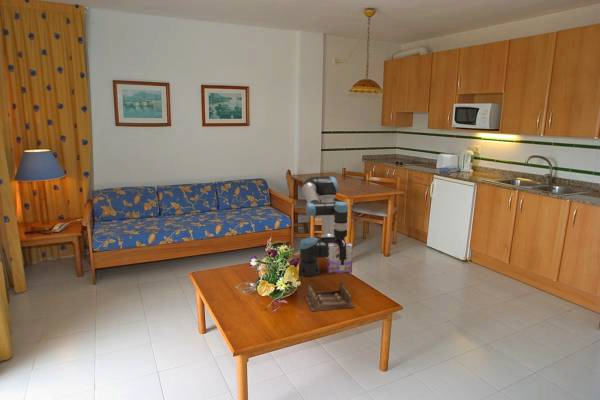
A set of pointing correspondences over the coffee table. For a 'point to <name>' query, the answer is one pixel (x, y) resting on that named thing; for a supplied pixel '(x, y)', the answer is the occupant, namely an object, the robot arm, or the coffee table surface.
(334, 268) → the candy box
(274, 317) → the coffee table surface
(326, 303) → the peg frame
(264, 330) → the coffee table surface
